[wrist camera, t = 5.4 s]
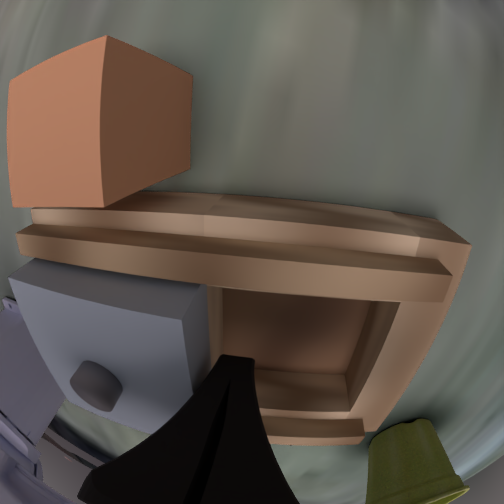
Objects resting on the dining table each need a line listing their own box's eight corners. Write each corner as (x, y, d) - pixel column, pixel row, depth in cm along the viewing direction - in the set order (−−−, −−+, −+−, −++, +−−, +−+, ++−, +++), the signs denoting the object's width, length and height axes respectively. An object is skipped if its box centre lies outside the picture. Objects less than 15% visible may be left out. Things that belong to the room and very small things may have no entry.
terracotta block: (111, 170, 11) (13, 207, 6) (112, 88, 10) (9, 81, 4) (190, 169, 11) (104, 207, 5) (193, 75, 9) (107, 35, 4)
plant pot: (420, 394, 15) (446, 494, 7) (460, 416, 16) (481, 486, 9) (330, 446, 19) (330, 531, 11) (386, 459, 20) (393, 524, 12)
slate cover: (88, 373, 13) (61, 413, 10) (44, 252, 10) (-8, 289, 7) (215, 408, 12) (199, 464, 9) (206, 274, 9) (168, 345, 6)
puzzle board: (111, 359, 17) (84, 401, 13) (70, 192, 12) (12, 217, 8) (368, 394, 15) (378, 447, 11) (437, 219, 10) (489, 259, 6)
